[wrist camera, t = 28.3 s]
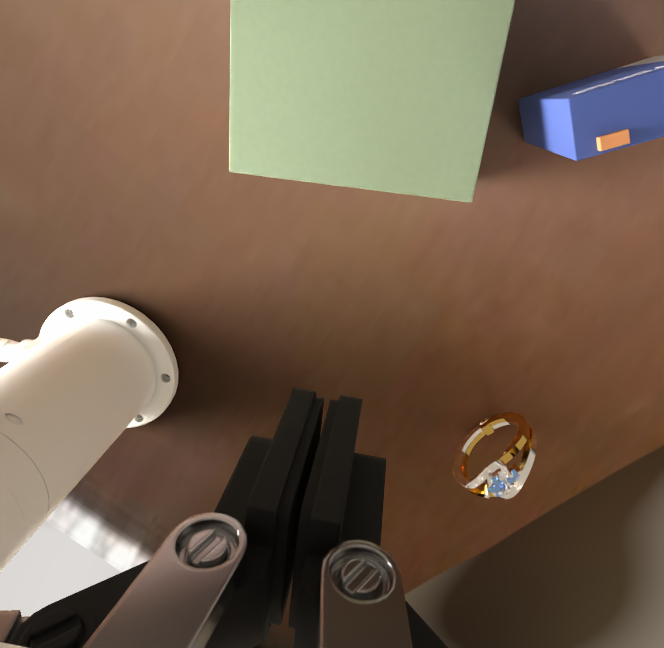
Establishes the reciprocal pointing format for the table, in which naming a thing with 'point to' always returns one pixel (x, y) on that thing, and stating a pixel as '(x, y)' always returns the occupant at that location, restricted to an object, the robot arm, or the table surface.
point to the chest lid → (366, 91)
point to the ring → (504, 478)
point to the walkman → (598, 111)
